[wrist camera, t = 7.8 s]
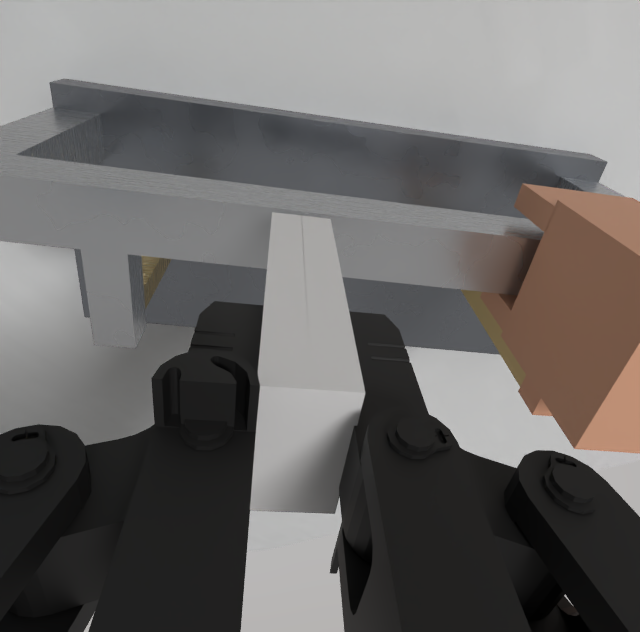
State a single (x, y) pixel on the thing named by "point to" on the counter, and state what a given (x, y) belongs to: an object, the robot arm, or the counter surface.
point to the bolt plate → (316, 190)
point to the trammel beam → (226, 224)
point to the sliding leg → (576, 317)
